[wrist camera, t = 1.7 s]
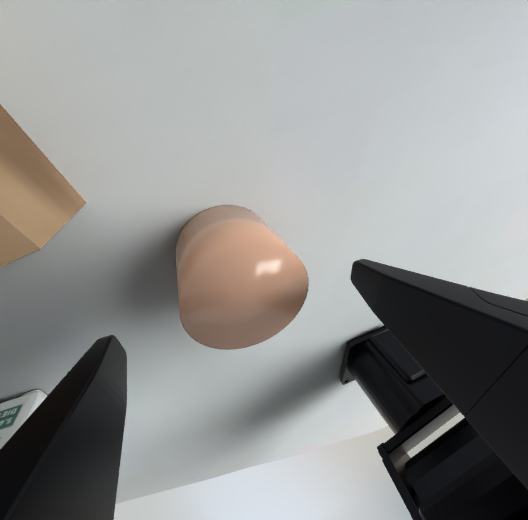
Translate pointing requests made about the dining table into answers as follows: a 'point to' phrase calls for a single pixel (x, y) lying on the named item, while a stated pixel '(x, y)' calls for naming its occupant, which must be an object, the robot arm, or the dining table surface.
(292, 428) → the dining table surface
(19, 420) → the syrup box
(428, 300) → the robot arm
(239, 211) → the tan rounded tapered piece
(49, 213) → the walnut base block
